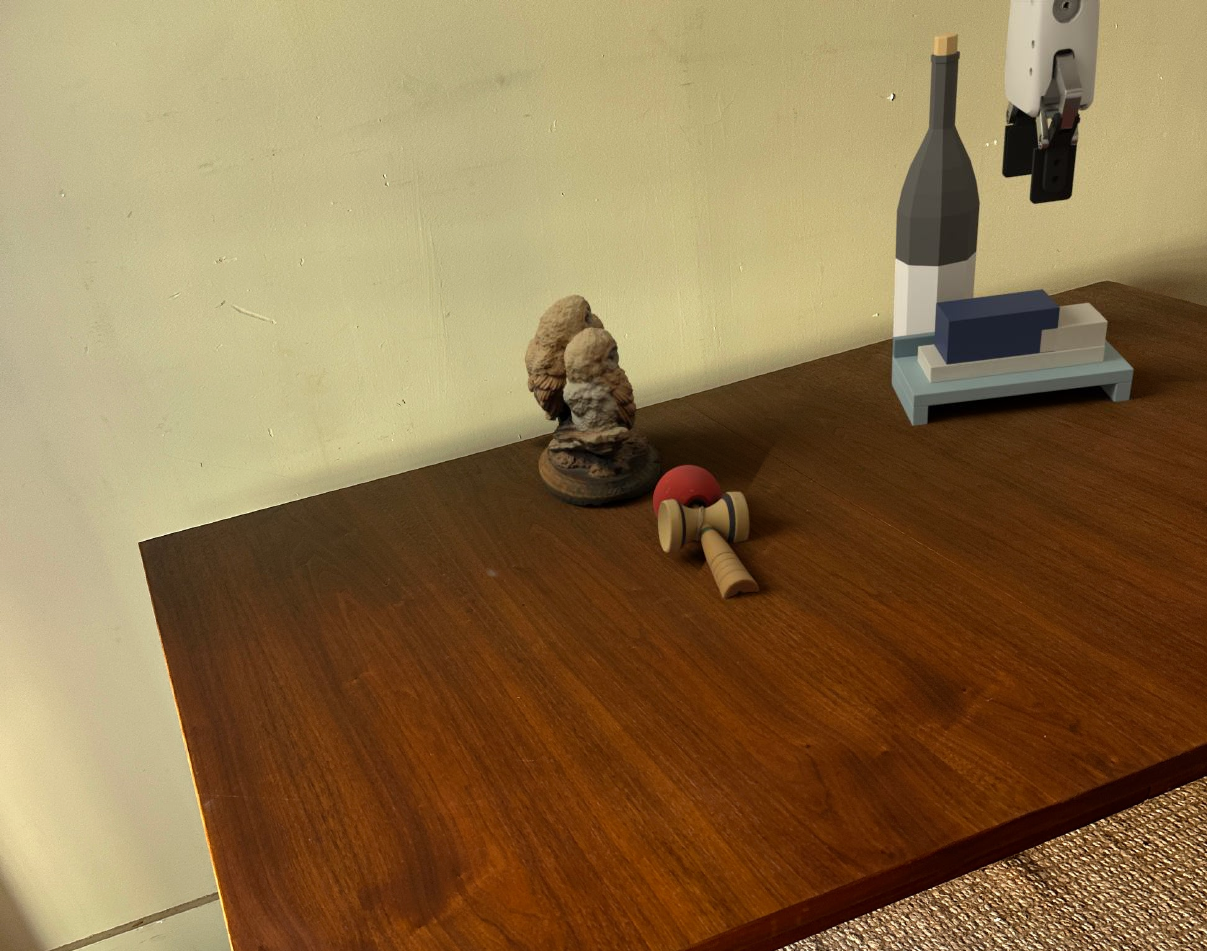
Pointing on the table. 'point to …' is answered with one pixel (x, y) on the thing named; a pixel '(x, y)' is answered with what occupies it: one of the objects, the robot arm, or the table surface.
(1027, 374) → the shelf
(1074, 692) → the table surface
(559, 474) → the owl figurine
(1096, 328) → the navy block on base
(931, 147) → the wine bottle
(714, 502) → the kendama
